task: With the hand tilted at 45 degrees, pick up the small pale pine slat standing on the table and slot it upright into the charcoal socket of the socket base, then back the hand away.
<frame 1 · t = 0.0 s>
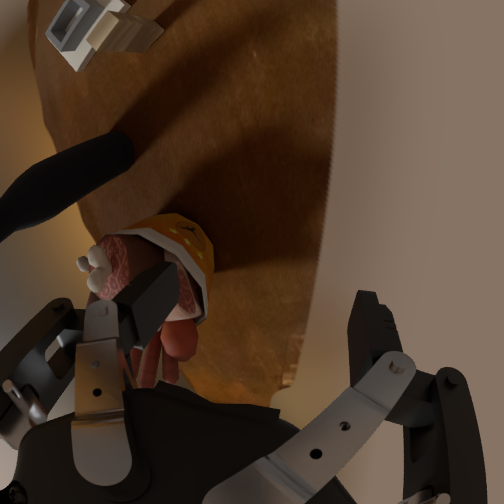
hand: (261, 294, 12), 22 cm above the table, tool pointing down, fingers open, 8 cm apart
bucket of meat: (180, 248, 41), on the table
slat: (148, 36, 24), on the table
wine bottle: (117, 151, 34), on the table
socket base: (86, 21, 23), on the table
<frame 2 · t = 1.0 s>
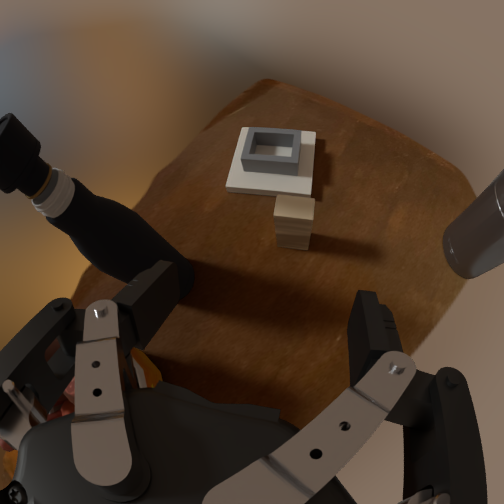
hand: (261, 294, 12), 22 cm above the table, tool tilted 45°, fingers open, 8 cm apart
bucket of meat: (129, 390, 32), on the table
slat: (294, 239, 36), on the table
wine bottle: (173, 278, 37), on the table
socket base: (274, 162, 41), on the table
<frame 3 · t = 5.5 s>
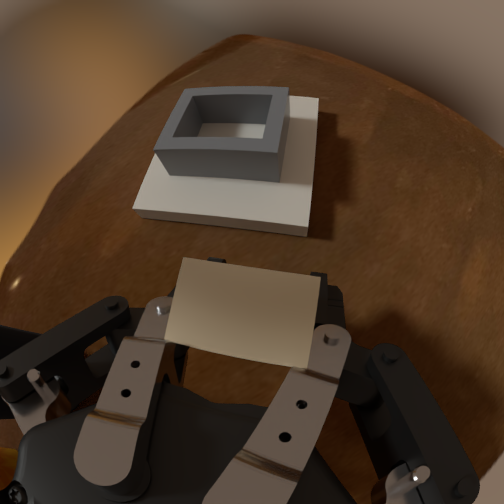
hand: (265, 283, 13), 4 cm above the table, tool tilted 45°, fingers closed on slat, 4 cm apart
bucket of meat: (39, 498, 11), on the table
slat: (265, 331, 16), on the table, touching gripper
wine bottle: (58, 375, 16), on the table
socket base: (235, 155, 20), on the table
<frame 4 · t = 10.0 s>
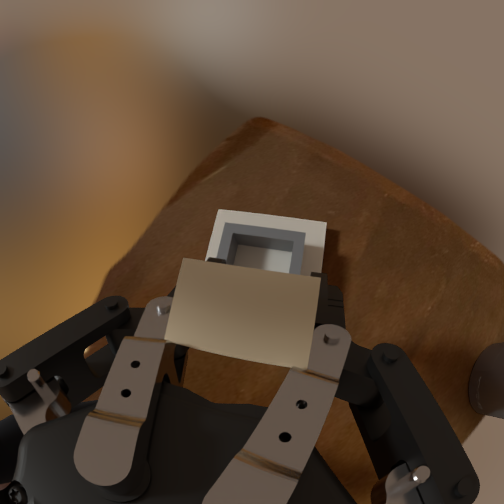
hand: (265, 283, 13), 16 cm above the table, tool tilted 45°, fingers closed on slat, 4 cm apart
slat: (265, 331, 16), point 12 cm above the table, touching gripper
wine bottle: (136, 419, 25), on the table
socket base: (262, 272, 29), on the table
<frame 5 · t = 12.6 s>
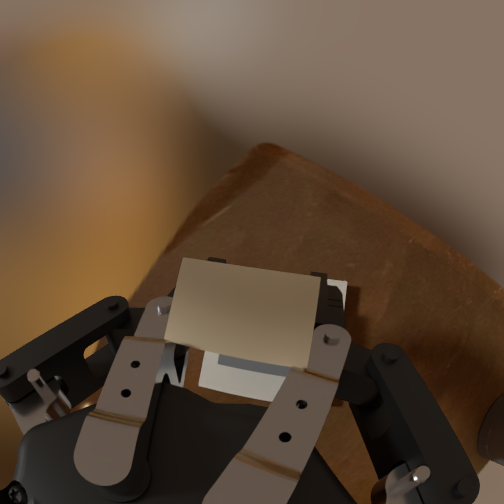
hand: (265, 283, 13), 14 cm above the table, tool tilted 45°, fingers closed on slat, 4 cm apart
slat: (265, 331, 16), point 10 cm above the table, touching gripper
socket base: (274, 337, 25), on the table
when the fingers open (6 cm above the table, at t = 14.7 s): slat stays where it is, resting on socket base.
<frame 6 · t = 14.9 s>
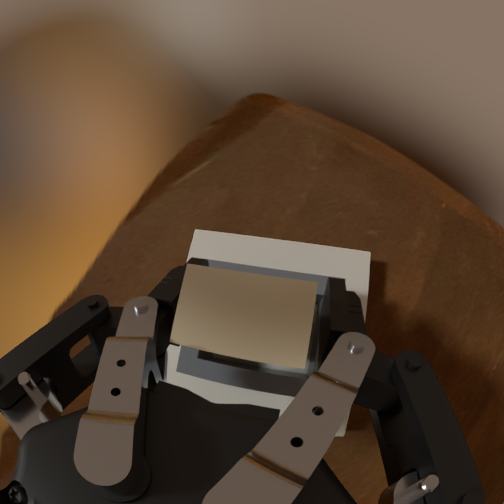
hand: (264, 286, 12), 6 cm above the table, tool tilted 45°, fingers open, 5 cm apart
slat: (265, 332, 16), point 1 cm above the table, touching socket base
socket base: (267, 333, 18), on the table
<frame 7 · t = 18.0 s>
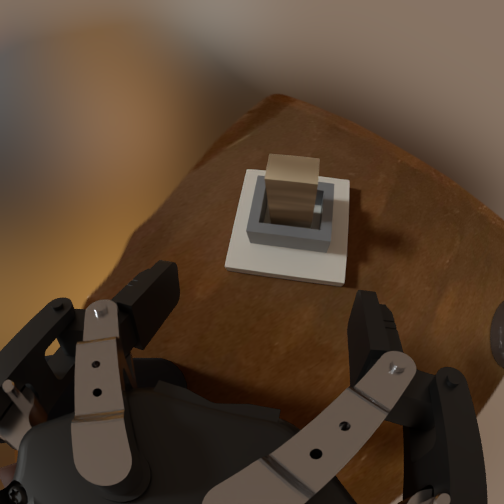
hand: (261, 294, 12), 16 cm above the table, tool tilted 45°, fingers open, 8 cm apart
slat: (292, 220, 29), point 1 cm above the table, touching socket base
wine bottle: (160, 386, 26), on the table
socket base: (291, 225, 30), on the table
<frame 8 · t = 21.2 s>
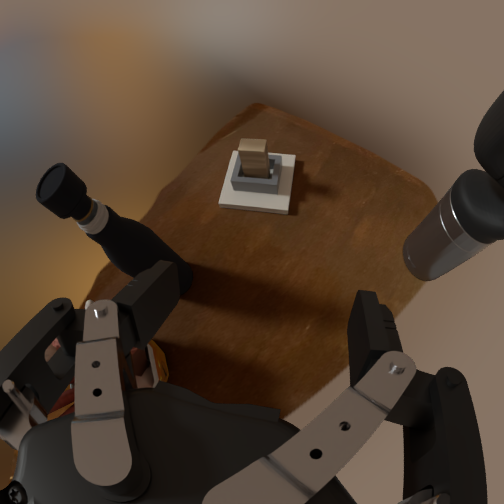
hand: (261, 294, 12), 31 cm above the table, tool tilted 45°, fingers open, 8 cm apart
bucket of meat: (138, 370, 41), on the table
slat: (258, 177, 48), point 1 cm above the table, touching socket base
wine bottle: (175, 278, 46), on the table
socket base: (259, 182, 50), on the table
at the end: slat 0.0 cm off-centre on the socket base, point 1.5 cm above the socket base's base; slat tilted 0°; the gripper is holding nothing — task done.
